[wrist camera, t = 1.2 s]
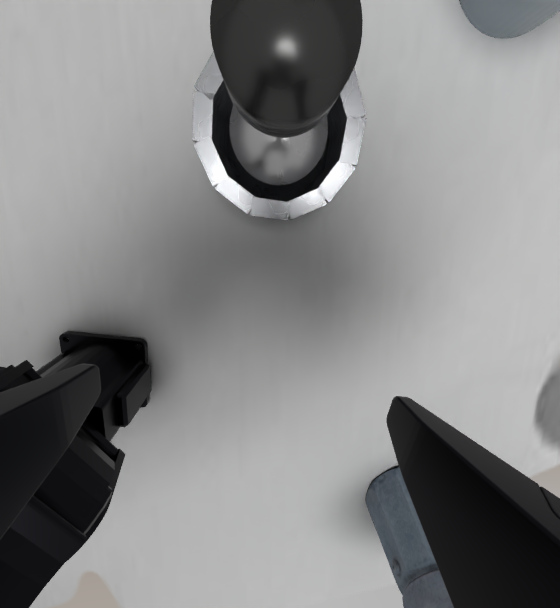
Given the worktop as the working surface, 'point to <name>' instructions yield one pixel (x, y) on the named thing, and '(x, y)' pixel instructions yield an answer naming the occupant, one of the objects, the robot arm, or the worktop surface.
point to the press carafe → (253, 193)
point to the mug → (508, 15)
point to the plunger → (283, 78)
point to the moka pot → (405, 543)
